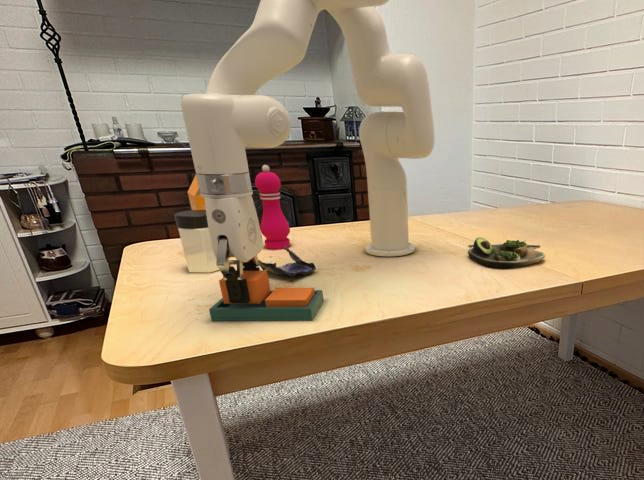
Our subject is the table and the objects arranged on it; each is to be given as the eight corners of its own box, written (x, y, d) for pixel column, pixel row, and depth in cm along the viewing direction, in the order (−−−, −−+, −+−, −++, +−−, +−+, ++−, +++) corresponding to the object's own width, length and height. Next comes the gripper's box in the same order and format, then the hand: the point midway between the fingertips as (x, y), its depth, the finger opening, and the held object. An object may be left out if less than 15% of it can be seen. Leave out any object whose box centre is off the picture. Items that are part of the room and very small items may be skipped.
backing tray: (233, 301, 86) (230, 290, 85) (323, 300, 87) (322, 289, 86) (211, 321, 78) (208, 309, 77) (312, 320, 78) (310, 308, 77)
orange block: (236, 292, 83) (232, 270, 82) (270, 292, 84) (267, 270, 82) (223, 303, 78) (218, 280, 76) (260, 303, 78) (255, 280, 77)
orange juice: (208, 259, 112) (187, 169, 102) (200, 251, 118) (180, 166, 109) (242, 254, 116) (225, 167, 107) (233, 247, 122) (216, 165, 113)
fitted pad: (278, 300, 85) (276, 287, 84) (315, 300, 85) (314, 287, 84) (267, 314, 79) (264, 300, 78) (307, 313, 79) (305, 299, 78)
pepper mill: (282, 242, 128) (270, 163, 119) (297, 246, 124) (286, 164, 115) (258, 246, 123) (243, 164, 114) (273, 251, 119) (259, 166, 110)
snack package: (299, 263, 109) (248, 271, 102) (298, 237, 106) (245, 243, 99) (323, 284, 102) (271, 294, 95) (323, 256, 99) (269, 264, 92)
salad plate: (521, 245, 126) (522, 228, 124) (563, 262, 112) (565, 242, 110) (457, 253, 118) (457, 235, 116) (494, 271, 104) (495, 251, 102)
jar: (230, 270, 104) (218, 214, 98) (189, 275, 100) (174, 217, 95) (225, 260, 111) (214, 208, 105) (186, 265, 107) (173, 211, 102)
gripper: (228, 192, 65) (252, 313, 73) (266, 179, 80) (282, 280, 89) (174, 192, 65) (203, 314, 73) (222, 179, 80) (242, 280, 88)
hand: (247, 294), depth 81 cm, fingers closed on orange block, 5 cm apart
